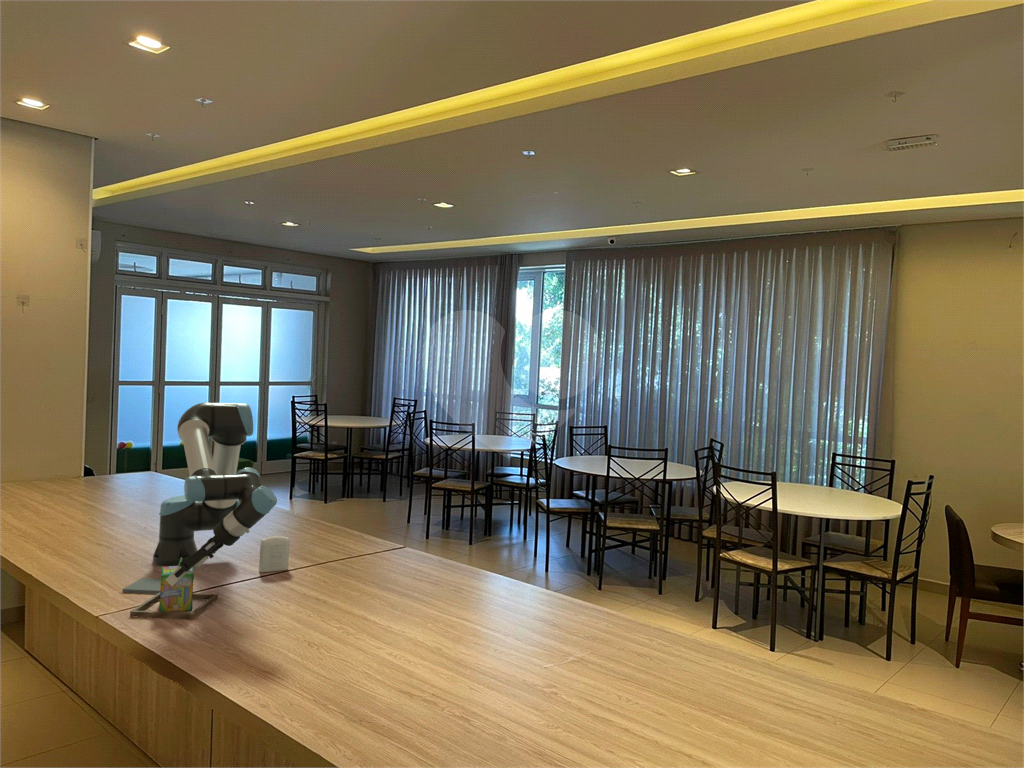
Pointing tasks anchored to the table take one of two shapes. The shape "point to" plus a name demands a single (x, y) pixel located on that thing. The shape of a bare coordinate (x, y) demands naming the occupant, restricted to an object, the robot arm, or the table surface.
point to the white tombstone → (274, 554)
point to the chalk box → (176, 591)
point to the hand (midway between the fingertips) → (179, 575)
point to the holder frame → (173, 615)
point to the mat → (144, 586)
